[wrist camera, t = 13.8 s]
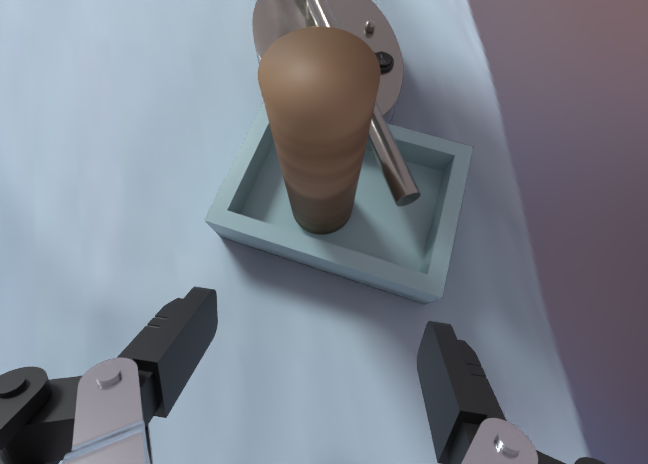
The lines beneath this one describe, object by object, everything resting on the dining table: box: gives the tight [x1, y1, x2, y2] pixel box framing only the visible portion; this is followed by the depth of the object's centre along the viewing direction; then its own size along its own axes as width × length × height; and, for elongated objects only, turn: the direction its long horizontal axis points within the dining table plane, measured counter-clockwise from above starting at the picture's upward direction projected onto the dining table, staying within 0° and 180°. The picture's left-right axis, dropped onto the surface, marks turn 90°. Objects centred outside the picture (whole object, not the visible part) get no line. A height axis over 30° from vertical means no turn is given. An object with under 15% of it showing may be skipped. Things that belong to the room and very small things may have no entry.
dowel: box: [258, 26, 381, 235], centre depth 15 cm, size 4×4×11 cm
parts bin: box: [204, 101, 473, 304], centre depth 20 cm, size 10×14×3 cm
